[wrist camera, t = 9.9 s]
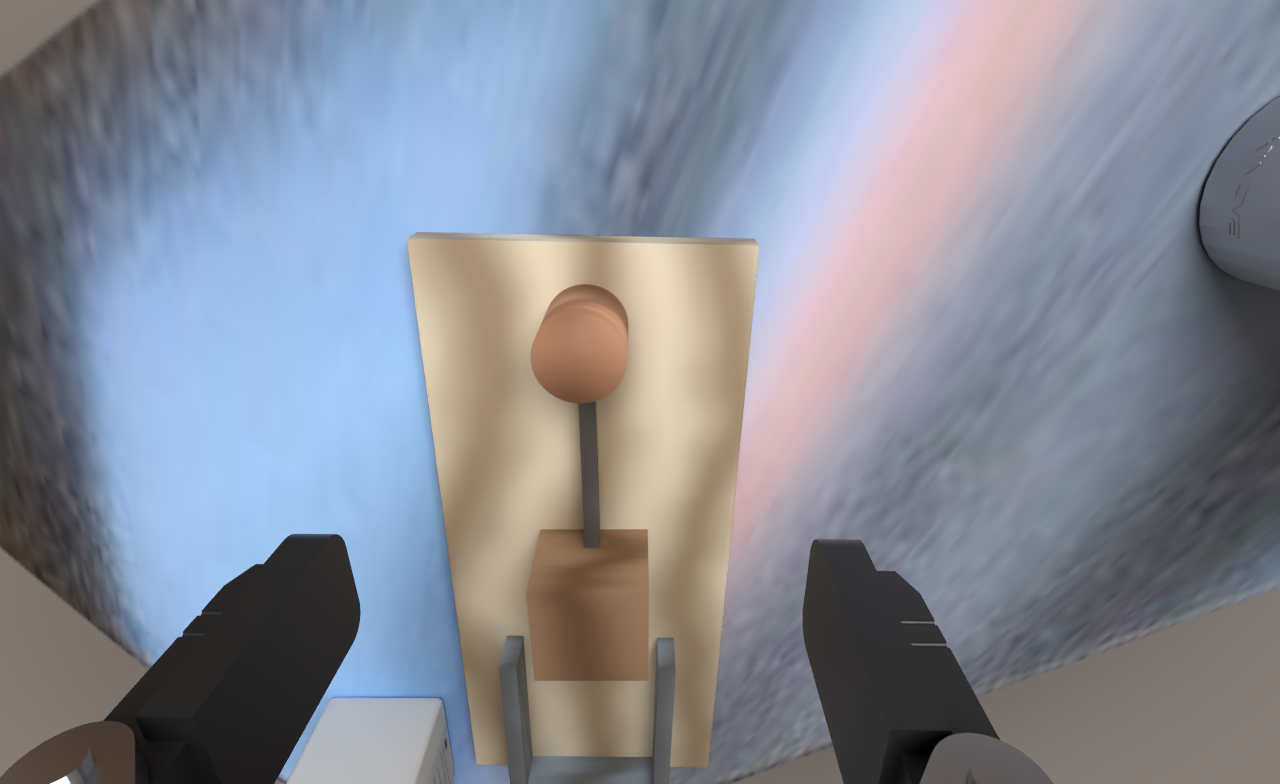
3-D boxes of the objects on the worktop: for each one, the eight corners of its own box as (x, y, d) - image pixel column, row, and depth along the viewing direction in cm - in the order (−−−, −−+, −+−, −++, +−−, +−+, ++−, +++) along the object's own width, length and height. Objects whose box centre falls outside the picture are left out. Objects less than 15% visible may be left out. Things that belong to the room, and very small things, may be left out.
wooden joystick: (649, 284, 30) (651, 317, 25) (647, 611, 38) (648, 680, 33) (521, 284, 30) (499, 317, 25) (546, 611, 38) (534, 680, 33)
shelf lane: (754, 239, 30) (770, 258, 27) (706, 747, 45) (711, 803, 42) (417, 232, 30) (386, 250, 26) (481, 744, 45) (467, 801, 41)
